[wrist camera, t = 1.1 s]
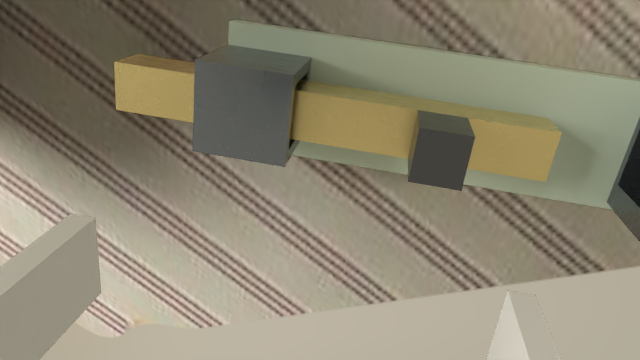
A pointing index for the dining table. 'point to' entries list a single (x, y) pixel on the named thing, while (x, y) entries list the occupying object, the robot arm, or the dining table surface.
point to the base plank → (475, 103)
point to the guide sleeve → (246, 103)
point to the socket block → (628, 186)
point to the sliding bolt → (369, 123)
